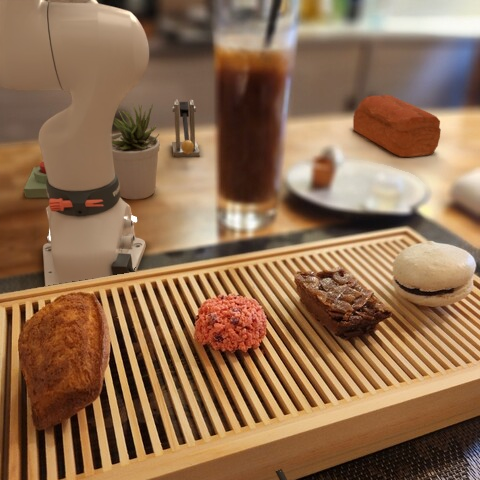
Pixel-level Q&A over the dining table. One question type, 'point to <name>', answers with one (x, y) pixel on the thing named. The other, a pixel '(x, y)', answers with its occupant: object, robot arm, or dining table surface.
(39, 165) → the lock button
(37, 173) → the green button base
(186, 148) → the lever
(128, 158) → the potted plant
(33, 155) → the dining table surface
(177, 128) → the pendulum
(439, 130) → the bread
